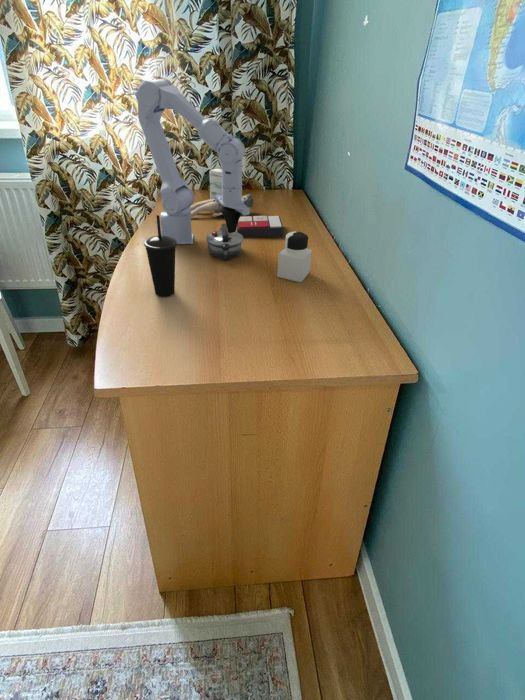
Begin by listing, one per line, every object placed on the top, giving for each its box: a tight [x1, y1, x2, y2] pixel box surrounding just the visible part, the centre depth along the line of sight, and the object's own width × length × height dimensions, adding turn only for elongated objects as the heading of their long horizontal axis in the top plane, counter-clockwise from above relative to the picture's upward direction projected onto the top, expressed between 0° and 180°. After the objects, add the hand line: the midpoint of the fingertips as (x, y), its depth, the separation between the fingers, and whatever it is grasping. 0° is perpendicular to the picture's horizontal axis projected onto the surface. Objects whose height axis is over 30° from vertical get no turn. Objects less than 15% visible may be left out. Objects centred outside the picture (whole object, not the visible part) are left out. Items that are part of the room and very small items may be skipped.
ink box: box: [208, 168, 222, 200], centre depth 174 cm, size 9×5×12 cm, turn 66°
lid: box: [205, 223, 244, 249], centre depth 135 cm, size 13×11×3 cm
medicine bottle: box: [277, 231, 313, 283], centre depth 124 cm, size 7×7×12 cm
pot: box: [207, 227, 242, 262], centre depth 140 cm, size 10×18×4 cm, turn 7°
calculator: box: [236, 215, 284, 238], centre depth 153 cm, size 11×4×15 cm
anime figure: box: [190, 192, 254, 218], centre depth 164 cm, size 10×7×30 cm
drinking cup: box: [143, 214, 178, 298], centre depth 110 cm, size 8×8×20 cm
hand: (231, 232), depth 137 cm, fingers closed
